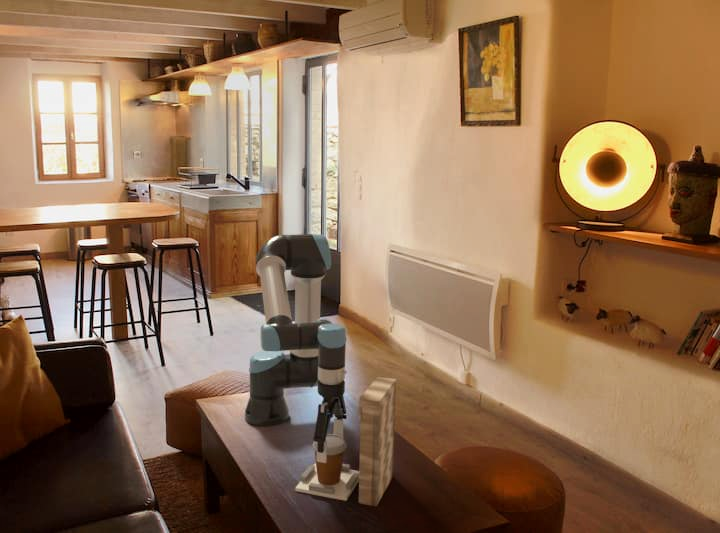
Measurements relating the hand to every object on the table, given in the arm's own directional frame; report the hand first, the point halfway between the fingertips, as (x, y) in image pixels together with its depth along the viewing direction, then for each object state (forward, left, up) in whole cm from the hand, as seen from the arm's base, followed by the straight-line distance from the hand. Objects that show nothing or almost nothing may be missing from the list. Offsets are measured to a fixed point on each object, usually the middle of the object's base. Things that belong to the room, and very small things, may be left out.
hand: (330, 450), depth 194 cm
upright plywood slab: (-1, +14, -10) cm, 17 cm away
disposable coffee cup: (+1, 0, -9) cm, 9 cm away
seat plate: (0, 0, -10) cm, 10 cm away
